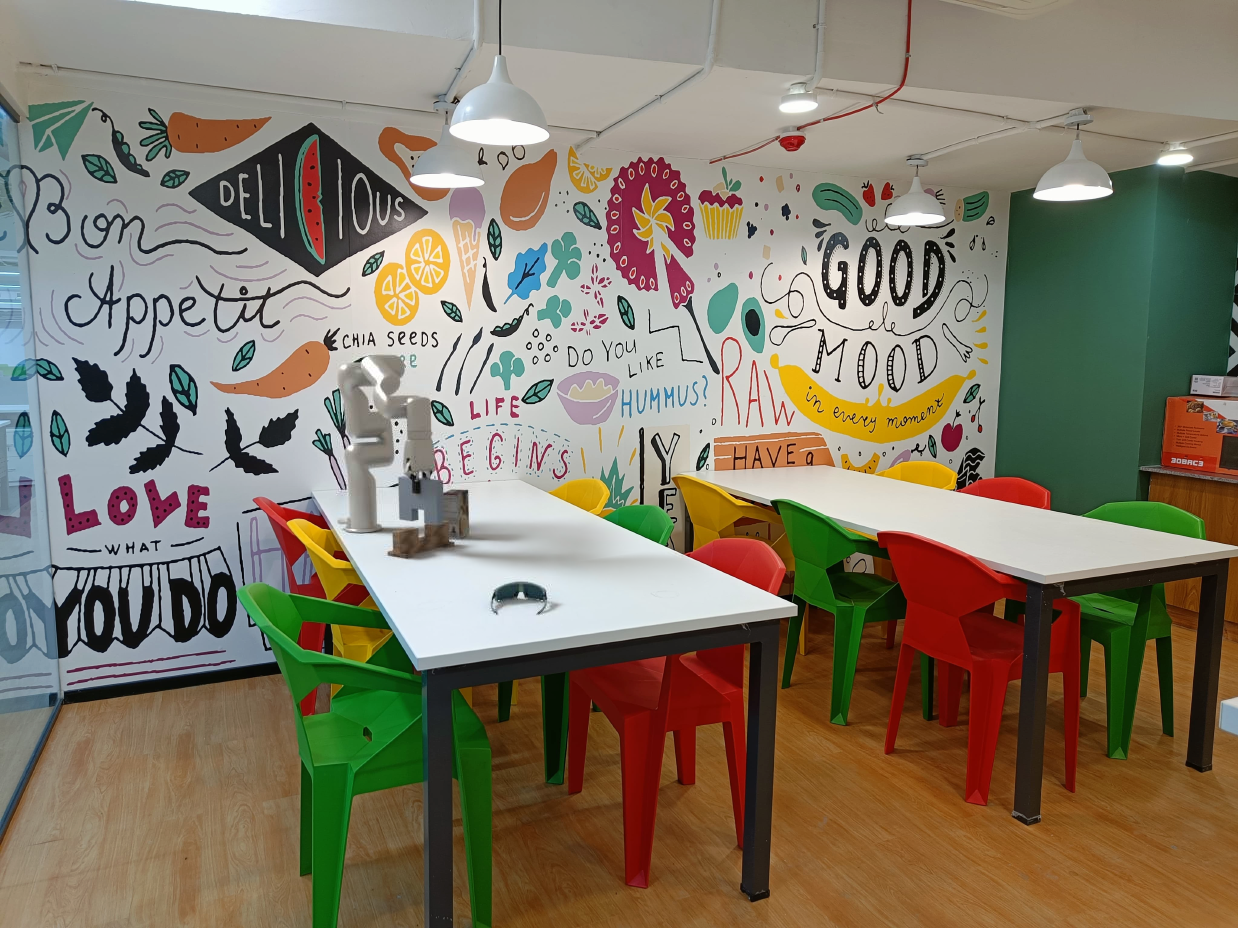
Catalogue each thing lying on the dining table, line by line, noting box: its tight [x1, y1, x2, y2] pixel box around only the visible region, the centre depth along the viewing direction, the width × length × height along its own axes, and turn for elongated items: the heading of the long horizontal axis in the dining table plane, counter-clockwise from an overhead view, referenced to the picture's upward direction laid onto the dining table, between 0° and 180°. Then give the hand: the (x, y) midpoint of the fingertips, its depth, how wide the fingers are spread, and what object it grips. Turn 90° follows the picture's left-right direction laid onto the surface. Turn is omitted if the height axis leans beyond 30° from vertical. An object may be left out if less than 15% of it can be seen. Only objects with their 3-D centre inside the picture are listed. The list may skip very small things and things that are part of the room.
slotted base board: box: [387, 521, 456, 560], centre depth 277 cm, size 22×8×8 cm, turn 147°
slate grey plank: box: [397, 475, 444, 525], centre depth 275 cm, size 17×3×14 cm, turn 57°
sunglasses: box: [490, 580, 548, 615], centre depth 217 cm, size 14×15×5 cm
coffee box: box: [443, 488, 470, 540], centre depth 297 cm, size 9×6×16 cm
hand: (420, 492), depth 275 cm, fingers closed on slate grey plank, 3 cm apart
